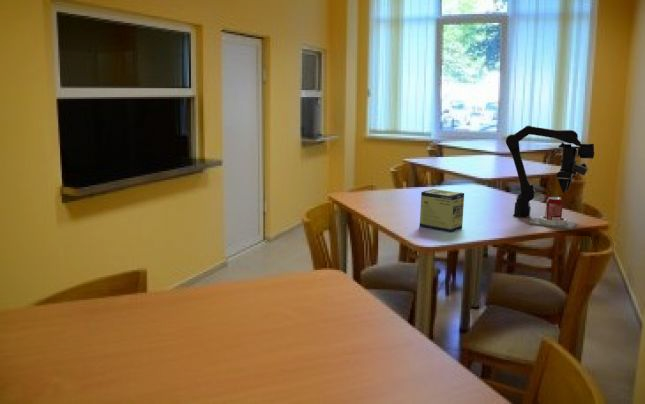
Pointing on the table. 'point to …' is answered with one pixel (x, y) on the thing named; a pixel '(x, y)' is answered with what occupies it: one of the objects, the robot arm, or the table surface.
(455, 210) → the protein box
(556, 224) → the holder
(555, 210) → the soda can
